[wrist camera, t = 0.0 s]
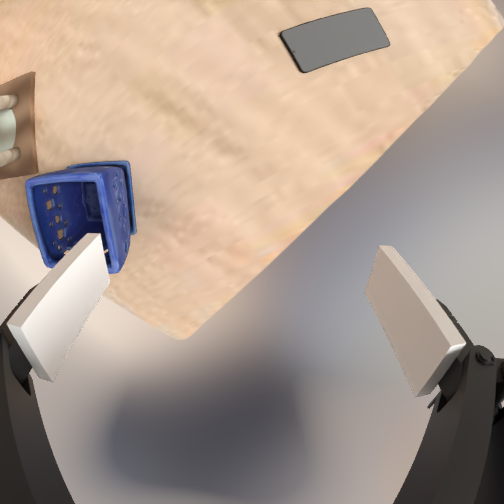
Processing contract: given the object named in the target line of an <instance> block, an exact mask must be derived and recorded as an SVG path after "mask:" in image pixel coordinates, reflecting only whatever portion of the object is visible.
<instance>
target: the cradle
mask: <svg viewBox="0 0 504 504" xmlns="http://www.w3.org/2000/svg"><path fill="white" fill-rule="evenodd" d="M34 88H35V72H29V73H27V74H24V75H22V76H20V77H17V78H15V79H13V80H11V81H9V82H6V83H4V84H2V85H0V179H5V178H11V177H17V176H24V175H30V174H35V173H37V172H38V165H37V155H36V142H35V123H34Z"/></svg>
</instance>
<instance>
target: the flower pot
mask: <svg viewBox="0 0 504 504" xmlns="http://www.w3.org/2000/svg"><path fill="white" fill-rule="evenodd" d="M54 186H57V192H56V194H54V193H53V187H54ZM25 187H26V195H27V201H28V206H29V211H30V216H31V220H32V224H33V228H34V232H35V235H36V239H37V242H38V246H39V249H40V252H41V255H42V259H43V261H44V264H45V265H46V266H47V267H49V268H54V266H55V265H56V264H57V263H58V262H59V261H60V260H61V259H62V258H63V257H64V256H65V255H66V254H64V252H65V251H66V250H71V249H72V248H73V247H74V246H75V245H76V244H77V243H78V242H79V241H80V240H81V239H82V238H83V237H84V236H85V235H86V234H87V233H100V235H101V240H102V245H103V250H104V251H105V250H106V249H108V252H107V253H105V254H104V255H105V260H106V265H107V269H108V274H113V273H118V272H119V271H120V270H121V268H122V266H123V264H124V262H125V260H126V257H127V254H128V250H129V246H130V235H134V234H136V232H137V229H136V219H135V209H134V199H133V189H132V179H131V169H130V163H129V162H128V161H109V162H95V163H86V164H77V165H71V166H68V167H67V169H66V170H61V171H55V172H51V173H46V174H42V175H38V176H35V177H32V178H30V179H28V180H27V181H26V183H25ZM43 189H45V193H43ZM50 199H51V203H52V208H51V209H49V210H48V209H47V205H46V203H47V202H48V201H49V200H50ZM59 204H60V208H59V207H58V205H59ZM55 216H59V222H58V223H56V220H55ZM65 221H66V224H65V225H64V222H65ZM50 223H51V226H49V224H50ZM61 229H63V238H61V239H59V238H58V233H57V231H59V230H61ZM68 238H69V240H67V239H68ZM53 242H54V245H53ZM59 245H60V250H59V249H58V246H59Z"/></svg>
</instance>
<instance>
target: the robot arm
mask: <svg viewBox="0 0 504 504" xmlns="http://www.w3.org/2000/svg"><path fill="white" fill-rule="evenodd" d="M109 284H110V278H109V274H108V269H107V265H106V260H105V255H104V250H103V245H102V240H101V235H100V233H87V234H86V235H85V236H84V237H83V238H82V239H81V240H80V241H79V242H78V243H77V244H76V245H75V246H74V247H73V248H72V249H71V250H70V251H69V252H68V253H67V254H66V255H65V256H64V257H63V258H62V259H61V260H60V261H59V262H58V263H57V264H56V265H55V266H54V268H53V269H52V270H51V271H50V272H49V273H48V274H47V275H46V276H45V278H44V279H43V280H42V281H41V282H40V283H39V284H37V285H36V286H34V287H33V288H32V289H30V290H29V291H28V292H27V293H26V295H25V296H24V297H23V299H22V300H21V301H20V302H19V303H18V305H17V306H16V307H15V308H14V309H13V310H12V312H11V313H10V314H9V315H8V317H7V318H6V319H5V321H4V322H3V323H2V325H1V326H0V504H75V503H74V501H73V499H72V497H71V495H70V493H69V491H68V489H67V486H66V484H65V482H64V480H63V478H62V475H61V473H60V471H59V468H58V465H57V463H56V460H55V458H54V455H53V452H52V449H51V447H50V444H49V441H48V438H47V435H46V432H45V428H44V425H43V421H42V418H41V414H40V411H39V407H38V403H37V399H36V394H35V390H34V385H33V380H32V378H31V376H30V374H29V372H30V370H31V369H32V368H33V369H34V371H35V373H36V374H37V376H38V377H39V378H42V379H44V380H47V381H51V382H54V380H55V378H56V375H57V374H58V372H59V370H60V368H61V366H62V364H63V362H64V360H65V358H66V356H67V354H68V353H69V351H70V349H71V347H72V345H73V343H74V342H75V340H76V338H77V336H78V335H79V333H80V331H81V329H82V328H83V326H84V324H85V322H86V321H87V319H88V317H89V316H90V314H91V312H92V311H93V309H94V307H95V306H96V304H97V303H98V301H99V299H100V298H101V296H102V295H103V293H104V291H105V290H106V288H107V287H108V285H109ZM365 294H366V296H367V298H368V300H369V302H370V304H371V305H372V307H373V309H374V311H375V313H376V315H377V317H378V319H379V321H380V323H381V325H382V327H383V329H384V331H385V333H386V335H387V337H388V339H389V341H390V343H391V345H392V348H393V350H394V352H395V354H396V356H397V358H398V360H399V362H400V365H401V367H402V369H403V371H404V374H405V376H406V378H407V380H408V383H409V385H410V387H411V390H412V392H413V394H414V397H419V396H423V395H428V394H430V393H431V392H432V391H433V390H434V388H435V387H436V386H437V384H438V385H439V387H440V389H441V391H440V392H439V393H438V394H437V396H436V397H435V398H434V399H433V400H432V401H431V403H430V404H429V405H428V408H430V407H431V406H432V405H433V404H434V408H433V411H432V414H431V417H430V420H429V423H428V426H427V429H426V431H425V434H424V437H423V440H422V442H421V445H420V448H419V450H418V452H417V455H416V457H415V460H414V462H413V464H412V466H411V469H410V471H409V473H408V475H407V477H406V479H405V482H404V484H403V486H402V488H401V490H400V492H399V493H398V495H397V497H396V499H395V501H394V503H393V504H504V407H503V408H502V405H501V402H502V401H503V400H504V359H500V358H495V357H494V355H493V354H492V352H491V351H490V350H489V349H487V348H485V347H484V346H480V345H476V346H474V345H473V343H472V342H471V340H470V339H469V337H468V336H467V334H466V333H465V332H464V330H463V329H462V327H461V326H460V325H459V323H457V320H456V319H455V318H454V316H452V314H451V312H450V311H449V310H448V308H447V307H446V306H445V305H444V304H443V303H441V302H440V301H439V300H437V299H435V298H434V297H433V295H432V294H431V293H430V292H429V290H428V289H427V288H426V286H425V285H424V284H423V283H422V281H421V280H420V279H419V278H418V276H417V275H416V274H415V273H414V272H413V270H412V269H411V268H410V267H409V266H408V264H407V263H406V262H405V261H404V260H403V259H402V257H401V256H400V255H399V254H398V252H396V250H395V249H394V248H393V247H392V246H381V245H379V246H378V250H377V254H376V257H375V261H374V264H373V268H372V271H371V274H370V278H369V281H368V284H367V287H366V290H365Z"/></svg>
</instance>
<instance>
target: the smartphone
mask: <svg viewBox="0 0 504 504" xmlns="http://www.w3.org/2000/svg"><path fill="white" fill-rule="evenodd" d="M280 36H281V38H282V40H283V41H284V43H285V45H286V46H287V48H288V50H289V51H290V53H291V55H292V57H293V58H294V60H295V62H296V63H297V65H298V67H299V69H300V71H301V72H303V73H308V72H310V71H313V70H315V69H318V68H321V67H324V66H326V65H329V64H332V63H335V62H338V61H341V60H344V59H347V58H350V57H353V56H357V55H360V54H363V53H367V52H370V51H374V50H377V49H381V48H385V47H388V46H390V42H389V40H388V38H387V36H386V34H385V32H384V30H383V28H382V26H381V25H380V23H379V21H378V19H377V17H376V16H375V14H374V12H373V11H372V9H371V8H363V9H358V10H353V11H349V12H345V13H340V14H336V15H333V16H329V17H325V18H321V19H317V20H315V21H312V22H307V23H304V24H301V25H299V26H296V27H293V28H290V29H288V30H285V31H282V32H281V34H280Z"/></svg>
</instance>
